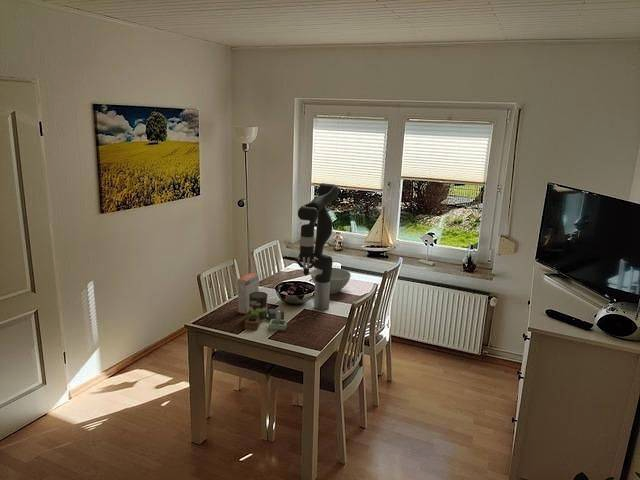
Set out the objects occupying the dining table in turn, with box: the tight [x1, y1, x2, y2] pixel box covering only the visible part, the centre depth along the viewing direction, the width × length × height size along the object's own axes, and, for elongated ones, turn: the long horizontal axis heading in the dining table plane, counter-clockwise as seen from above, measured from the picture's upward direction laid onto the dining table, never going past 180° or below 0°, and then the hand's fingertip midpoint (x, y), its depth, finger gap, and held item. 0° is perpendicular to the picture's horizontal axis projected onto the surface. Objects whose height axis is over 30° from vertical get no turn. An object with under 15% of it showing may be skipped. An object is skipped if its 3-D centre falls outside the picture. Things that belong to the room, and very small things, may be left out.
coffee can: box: [248, 291, 269, 322], centre depth 263 cm, size 10×10×14 cm
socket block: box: [244, 316, 261, 331], centre depth 253 cm, size 7×7×4 cm
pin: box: [276, 310, 282, 324], centre depth 252 cm, size 3×3×9 cm
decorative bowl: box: [310, 267, 351, 295], centre depth 311 cm, size 27×27×12 cm
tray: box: [268, 319, 288, 331], centre depth 253 cm, size 7×9×3 cm
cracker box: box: [237, 272, 260, 315], centre depth 273 cm, size 14×6×21 cm, turn 155°
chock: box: [267, 307, 285, 321], centre depth 265 cm, size 6×8×4 cm
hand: (306, 274), depth 251 cm, fingers closed
